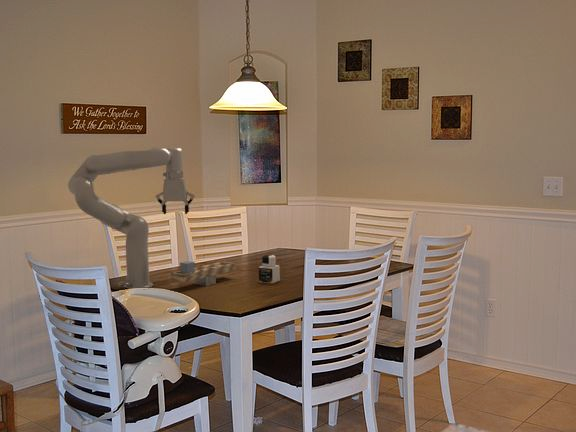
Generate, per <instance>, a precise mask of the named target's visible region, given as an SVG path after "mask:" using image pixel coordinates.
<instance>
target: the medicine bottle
mask: <svg viewBox="0 0 576 432" xmlns="http://www.w3.org/2000/svg"><path fill="white" fill-rule="evenodd" d="M261 259H262V260H261V262H262V263H261V264H262V265H261V266H259V267H258V283H262V284H263V283H264V284H275V283H277V282H280V281H281V275H280V274H281V273H280V272H281V271H280V269H281V266H280V265H279V264H277V263H276V262H277V261H276V260H277V258H276V256H275V255H274V254H265V255H262V258H261Z"/></svg>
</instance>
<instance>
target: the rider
mask: <svg viewBox="0 0 576 432" xmlns="http://www.w3.org/2000/svg"><path fill="white" fill-rule="evenodd" d="M195 263H196V262H195V261H191V260H187V261H181V262H179V271H180V274H187V273H191V272H195V267H196V264H195Z"/></svg>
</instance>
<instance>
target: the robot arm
mask: <svg viewBox="0 0 576 432" xmlns="http://www.w3.org/2000/svg"><path fill="white" fill-rule="evenodd" d="M183 152H184V151H183V149H182V148H181V147H168V148H165V147H152V148H150V149H146V150H125V151H117V152H111V153H110V152H109V153H105V154H93V155H89V156H88V157H87V158H86V159H85V160H84V161H83V162H82V164H81V165H80V166H79V167H78V169H77V170H76V171H75V172H74V173H73V175H72V176H71V177H70V178H69V181H68V183H67V187H68V191H69V192H70V193H71V194H73V195H74V199H75V202H76V204H77V206H78V208H79V209H80V210H81V211H82V212H83V213H85V214H86V215H89V217H92V218H94V219H96V220H99V222H100V223H101V224H103V225H106V226H107V227H109V228H111V229H113V230H114V231H118V232H120V233H121V234H124V235H125V236H126V237H125V261H126V265H125V267H126V277H125V278H124V280H123V281H118V282H117V285H118V287H123V288H124V287H126V288H137V287H145V288H148V289H151V288H153V287H154V283H153V282H151V281H150V268H149V265H150V264H149V229H150V228H149V224H148V222H147V221H146V219H144V217H142V216H141V215H140V216H139V215H135V214H133V213H131V212H129V211H127V210H125V209H123V208H121V207H120V206H119V205H117V204H113V203H110V202H109V201H107V200H104V199H103V198H101V197H99V196H97V195H96V193H95V191H94V190H95V187H94V183H93V182H95V180H97V177H98V176H102V175H103V176H105V175H110V174H117V173H122V172H123V173H124V172H129V171H135V170H136V171H137V170H143V169H148V168H155V167H160V166H162V167H163V166H165V172H162V177H165V178H164V179H163V186H162V192H160V193H158V194H156V195H155V198H156V200H157V202H158V203H159V204H160V205H161V211H162V213H163V215H166V214H167V205H166V203H167V202H183V203H184V204H185V205H184V215H187V214H188V213H189V211H190V206H189V205H190V204H191V203H192V202H193V201H194V199H195V194H193V193H191V192H189V191H187V183H186V179H185V178H184V155H183V154H184V153H183ZM188 196H189V200H188V199H187V198H188ZM161 197H162V198H163V200H162V199H161ZM152 286H153V287H152ZM150 287H151V288H150Z"/></svg>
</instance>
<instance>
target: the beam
mask: <svg viewBox="0 0 576 432" xmlns="http://www.w3.org/2000/svg"><path fill="white" fill-rule="evenodd" d="M236 264H237V263H236V262H228V261H219V262H214V263H210V264H207V265H197V266H195V272H191V273H187V274H180V270H177V271H173V272H170V276H171V277H170V279H171V281H175V282H181V283H187V282H192V281H194V280H196V279H200V278H204V277H209V276H213V275H216V276H217V275H221V274H224V273H229V272H233V271H236V267H237V266H236Z"/></svg>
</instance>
